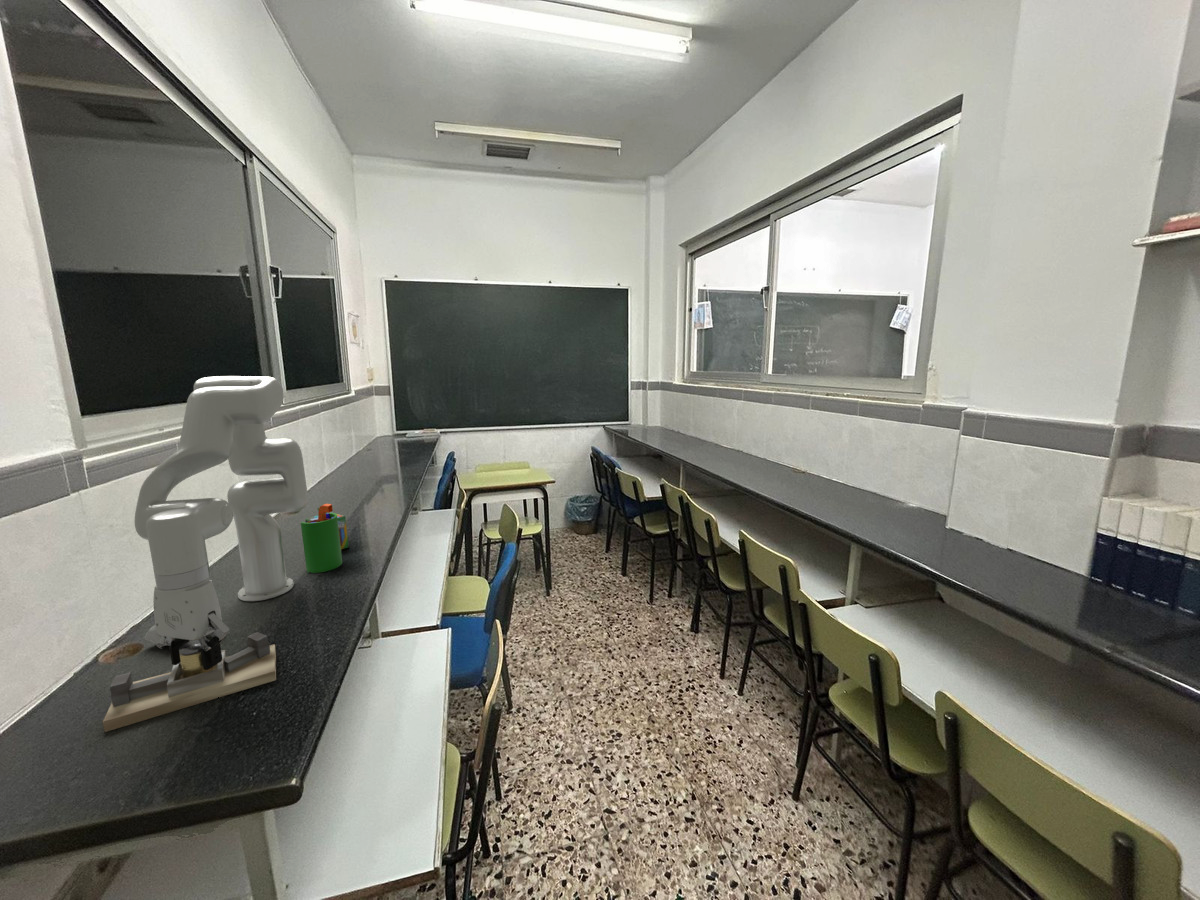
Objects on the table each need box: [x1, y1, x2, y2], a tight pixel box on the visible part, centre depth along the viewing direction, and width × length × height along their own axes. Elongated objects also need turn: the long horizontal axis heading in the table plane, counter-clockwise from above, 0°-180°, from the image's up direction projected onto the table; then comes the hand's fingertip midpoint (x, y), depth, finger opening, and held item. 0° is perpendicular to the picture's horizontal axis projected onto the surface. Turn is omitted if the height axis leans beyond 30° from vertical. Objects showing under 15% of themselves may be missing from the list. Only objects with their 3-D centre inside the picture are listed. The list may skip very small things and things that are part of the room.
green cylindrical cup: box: [300, 503, 343, 574], centre depth 144 cm, size 10×9×20 cm
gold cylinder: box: [179, 638, 213, 678], centre depth 89 cm, size 4×4×7 cm
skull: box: [144, 624, 209, 649], centre depth 105 cm, size 8×9×12 cm
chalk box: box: [304, 507, 350, 551], centre depth 158 cm, size 9×9×15 cm
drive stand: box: [102, 631, 277, 733], centre depth 90 cm, size 11×24×6 cm, turn 125°
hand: (197, 662), depth 90 cm, fingers open, 6 cm apart
